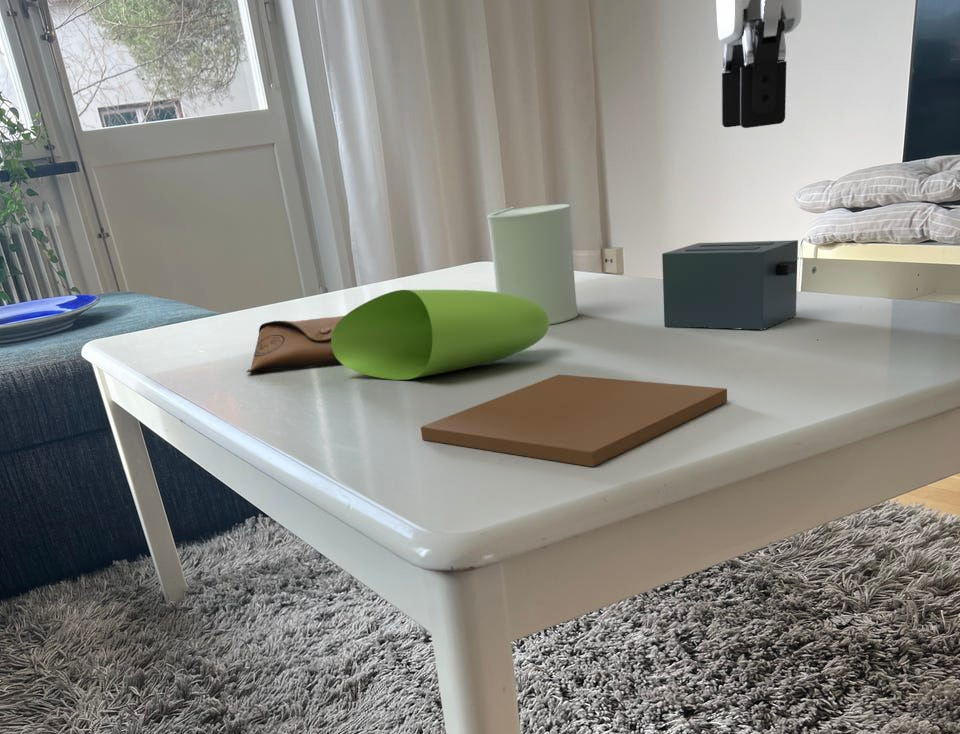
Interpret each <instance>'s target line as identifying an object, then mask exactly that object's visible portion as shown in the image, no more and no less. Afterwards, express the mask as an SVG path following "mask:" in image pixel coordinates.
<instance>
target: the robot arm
mask: <svg viewBox="0 0 960 734" xmlns="http://www.w3.org/2000/svg"><path fill="white" fill-rule="evenodd" d="M715 2H716V5H715V6H716V25H717V26H716V27H717V36H718V40H719V41H720V42H721V43H722V44H724V47H723V60H722V69H723V70H722V71H723V72H722V73H721V125H722V126H723V127H724V128H733V127H740V126H741V128H743V129H749V128H757V127H765V126H772V125H780V124H783V122H784V121H785V120H786V100H787V99H786V97H787V61H786V56H787V47H786V37H785V35H787V34H789V33H792V32H793V31H794V30H795V29H796V28H797V27H798V26H799V25H800V24H801V21H802V0H716V1H715Z"/></svg>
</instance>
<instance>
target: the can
mask: <svg viewBox="0 0 960 734" xmlns="http://www.w3.org/2000/svg"><path fill="white" fill-rule="evenodd" d="M486 217H487V223H488V230H489V236H490V247H491V254H492V262H493V263H492V264H493V273H494V282H495V292H498V293H504V294H509V295H514V296H518V297H521V298H525V299H528V300H530V301H533V302H535V303H537V304H538V305H540V306H541V307H542V308H543V309H544V310H545V311H546V312H547V314H548V316H549V326H550V325H556V324H561V323H564V322H568V321H570V320H573V319H576V318H577V317H578V315H579V310H578V305H577V295H576V282H575V269H574V256H573V255H574V254H573V253H574V252H573V240H572V239H573V238H572V223H571V205H570V204H568V203H567V204H566V203H563V204H562V203H560V204H559V203H558V204H545V205H544V204H543V205H536V206H526V207H520V208H519V207H518V208H514V206H512V207H508V208H504V209H502V210H498V211H496V212H493V213H489V214H487V215H486Z"/></svg>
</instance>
